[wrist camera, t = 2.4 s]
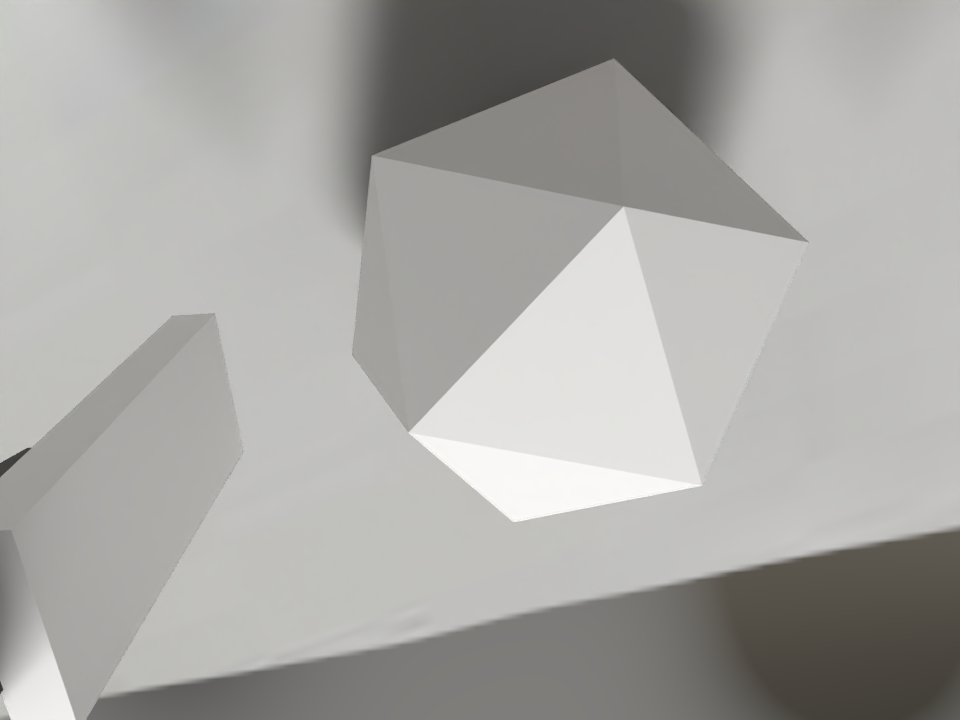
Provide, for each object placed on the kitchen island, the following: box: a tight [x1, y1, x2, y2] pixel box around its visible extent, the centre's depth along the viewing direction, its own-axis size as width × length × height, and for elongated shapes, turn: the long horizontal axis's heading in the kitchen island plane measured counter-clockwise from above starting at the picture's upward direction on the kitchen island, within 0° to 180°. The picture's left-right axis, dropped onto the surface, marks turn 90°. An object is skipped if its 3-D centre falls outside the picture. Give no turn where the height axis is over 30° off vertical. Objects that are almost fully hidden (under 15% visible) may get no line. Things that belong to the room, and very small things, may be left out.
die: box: [352, 59, 809, 522], centre depth 17 cm, size 8×9×10 cm
